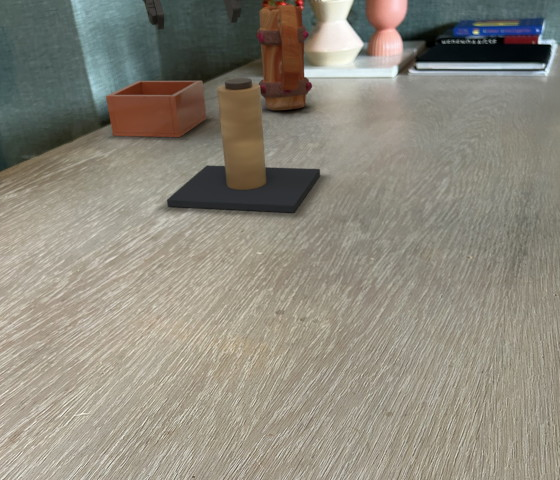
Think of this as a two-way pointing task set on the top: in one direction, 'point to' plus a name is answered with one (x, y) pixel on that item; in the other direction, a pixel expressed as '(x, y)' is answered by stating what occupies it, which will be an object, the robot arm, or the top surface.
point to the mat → (246, 191)
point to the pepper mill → (242, 133)
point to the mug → (283, 57)
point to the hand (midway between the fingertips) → (198, 21)
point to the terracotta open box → (156, 108)
